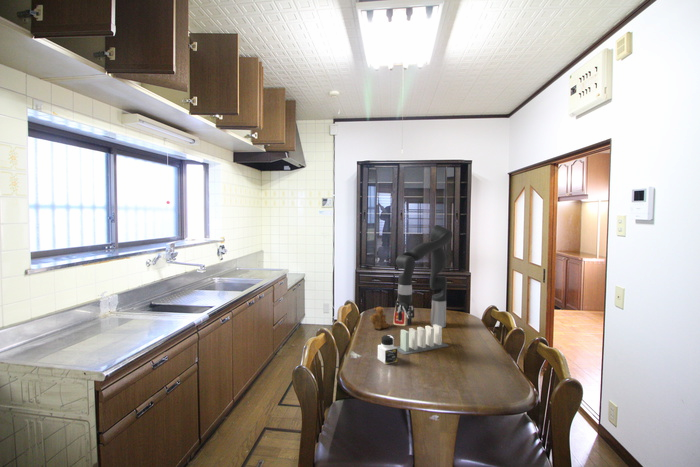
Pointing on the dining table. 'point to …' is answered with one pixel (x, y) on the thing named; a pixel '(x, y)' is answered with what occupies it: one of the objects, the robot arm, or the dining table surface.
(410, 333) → the domino
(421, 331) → the domino
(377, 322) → the stuffed squirrel
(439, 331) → the domino
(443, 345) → the runner mat
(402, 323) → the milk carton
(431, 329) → the domino
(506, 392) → the dining table surface
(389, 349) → the medicine bottle
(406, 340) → the domino
